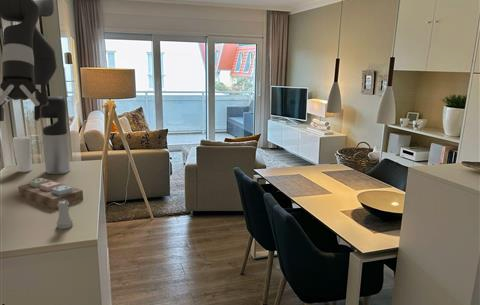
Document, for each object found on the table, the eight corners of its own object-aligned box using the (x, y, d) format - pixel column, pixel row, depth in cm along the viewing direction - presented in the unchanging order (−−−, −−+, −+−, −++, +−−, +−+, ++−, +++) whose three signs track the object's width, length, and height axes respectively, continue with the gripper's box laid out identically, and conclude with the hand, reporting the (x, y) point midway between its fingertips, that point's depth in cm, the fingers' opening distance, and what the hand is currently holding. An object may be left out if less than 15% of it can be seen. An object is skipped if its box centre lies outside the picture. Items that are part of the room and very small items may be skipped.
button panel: (19, 195, 125) (18, 186, 125) (48, 187, 135) (47, 179, 134) (53, 209, 115) (52, 199, 114) (83, 199, 124) (82, 190, 124)
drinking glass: (25, 173, 150) (22, 139, 147) (12, 172, 151) (8, 138, 148) (37, 169, 157) (34, 136, 153) (24, 168, 158) (21, 135, 154)
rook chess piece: (60, 223, 105) (58, 198, 104) (75, 223, 106) (73, 198, 104) (53, 229, 101) (51, 204, 99) (69, 229, 102) (67, 204, 100)
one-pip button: (40, 190, 124) (40, 184, 123) (52, 187, 127) (52, 181, 127) (48, 193, 121) (47, 186, 121) (59, 190, 125) (59, 183, 124)
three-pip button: (29, 186, 127) (29, 180, 126) (41, 183, 131) (40, 177, 130) (36, 189, 125) (35, 182, 124) (48, 186, 128) (47, 179, 128)
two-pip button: (52, 195, 120) (51, 188, 120) (64, 191, 124) (63, 184, 123) (60, 197, 118) (59, 190, 117) (71, 194, 122) (71, 187, 121)
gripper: (49, 69, 103) (50, 123, 102) (-7, 67, 99) (-7, 123, 97) (44, 60, 96) (45, 117, 95) (-17, 57, 92) (-17, 117, 90)
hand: (19, 120), depth 96 cm, fingers open, 8 cm apart
